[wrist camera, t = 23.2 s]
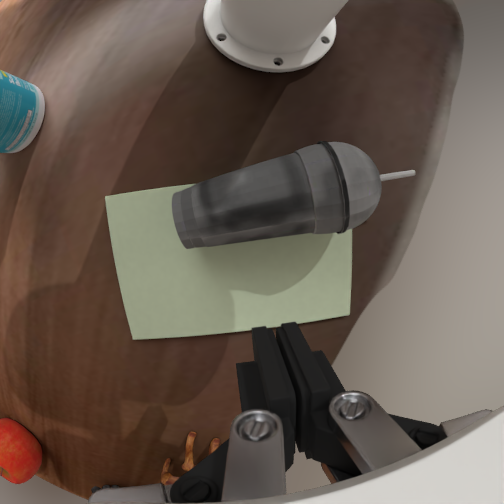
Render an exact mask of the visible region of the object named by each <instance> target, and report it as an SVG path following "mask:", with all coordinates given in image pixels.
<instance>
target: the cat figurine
mask: <svg viewBox="0 0 504 504" xmlns="http://www.w3.org/2000/svg"><path fill="white" fill-rule="evenodd" d="M196 435H197V434H196V433H195V432H190V433H189V434H188V437H187V441H186V447H185V462H184V464H183V465H182V468H183V469H184V470H187V471H189V470H191V469H192V468H193V467H194V466H196V465H193V443H194V439H195V436H196ZM219 442H220V439H218V438H214V439H213V440H212V441H211V444H210V447H209V455H210V454H211V453H212V452H213V451H215V450H216V449H217V448H218V445H219ZM170 461H171V459H170V458H168V459H166V461H165V464H164V467H163V470H162V473H161V482H162V484H164V485H171V484H173V483H174V482H175V481H176V480H177V479H178V478H180V477H174V476H172V475H171V474H170V473H169V472H168V469H169V463H170Z"/></svg>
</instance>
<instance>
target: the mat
mask: <svg viewBox="0 0 504 504" xmlns="http://www.w3.org/2000/svg"><path fill="white" fill-rule="evenodd" d="M193 185H194V184H189V185H181V186H172V187H165V188H157V189H150V190H143V191H136V192H130V193H123V194H117V195H111V196H106V197H105V200H106V209H107V216H108V224H109V230H110V237H111V243H112V249H113V255H114V260H115V265H116V270H117V275H118V280H119V285H120V290H121V294H122V298H123V303H124V307H125V311H126V315H127V319H128V323H129V326H130V330H131V334H132V337H133V340H136V339H156V338H172V337H186V336H198V335H210V334H220V333H230V332H239V331H247V330H252V328H253V327H261V326H266V327H267V328H271V327H278V326H281V324H282V323H289V322H296V323H297V324H299V323H305V322H312V321H318V320H324V319H329V318H335V317H341V316H346V315H350V299H351V274H352V229H349V230H346V232H344V233H342V234H337V233H336V232H335V233H330V234H312V233H307V234H300V235H292V236H285V237H277V238H270V239H263V240H256V241H248V242H241V243H234V244H227V245H220V246H213V247H199V248H191V249H186V248H185V247H184V246H183V244H182V242H181V241H180V238H179V236H178V234H177V231H176V227H175V224H174V219H173V214H172V196H173V194H174V193H175V192H179V191H182V190H184V189H186V188H189V187H191V186H193Z"/></svg>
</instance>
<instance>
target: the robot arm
mask: <svg viewBox="0 0 504 504" xmlns="http://www.w3.org/2000/svg"><path fill="white" fill-rule="evenodd" d="M347 1H348V0H207V1H206V4H205V6H204V13H203V21H204V27H205V30H206V34H207V36H208V37H209V39H210V41H211V42H212V44H213V45H214V46H215V47H216V48H217V49H218V50H219V51H220V52H221V53H222V54H224V55H225V56H226V57H228V58H229V59H231V60H233V61H234V62H236V63H238V64H240V65H243V66H246V67H249V68H251V69H255V70H260V71H265V72H280V73H281V72H290V71H296V70H299V69H303V68H306V67H308V66H310V65H312V64H314V63H316V62H317V61H318V60H319V59H321V58H322V57H323V56H324V55H325V54H326V53H327V52H328V51H329V49H330V48H331V46H332V45H333V42H334V39H335V36H336V22H335V18H334V17H335V16H336V14H337V13H338V12H339V11H340V10H341V8H342V7H343V6H344V5H345V4H346V2H347ZM219 40H224V41H219ZM274 63H278V64H279V66H278V65H275V64H274ZM252 340H253V350H254V360H255V361H252V362H244V363H236V368H237V376H238V384H239V392H240V400H241V408H242V413H241V414H239V415H238V416H236V418H235V419H234V420H233V421H232V424H231V428H230V436H229V439H228V440H227V441H225V442H224V443H223V444H222V445H221V446H219V447H218V448H217V449H216V450H215V451H213V452H212V453H211V454H210V455H208V456H207V457H206V458H205V459H203V460H202V461H201V462H200V463H198V464H197V465H196V466H194V467H193V468H192V469H191V470H189V471H188V472H187V473H185V474H184V475H183V476H181V477H180V478H178V479H177V480H176V481H175V482H174V483H173V484H171V485H165V486H163V484H162V483H159V484H151V485H143V486H134V487H122V488H105V489H100V490H97V491H96V492H94V493H93V494H92V495H91V496H90V498H89V501H88V504H504V406H502V407H500V408H498V409H496V410H494V411H492V410H487V409H486V410H481V411H478V412H475V413H472V414H469V415H465V416H463V417H459V418H456V419H452V420H449V421H445V422H441V424H440V426H437V425H434V424H431V423H427V422H422V421H417V420H413V419H408V418H404V417H399V416H395V415H391V414H387V413H386V412H385V410H384V409H383V408H382V407H381V406H380V405H379V404H378V403H377V402H376V401H375V400H374V399H373V398H372V397H371V396H370V395H368V394H366V393H363V392H360V391H345V389H344V387H343V386H342V384H341V382H340V380H339V379H338V377H337V375H336V373H335V372H334V370H333V368H332V367H331V365H330V363H329V361H328V360H327V358H326V356H325V354H324V353H323V352H322V351H321V350H320V351H315V352H312V351H311V349H310V348H309V346H308V344H307V342H306V340H305V338H304V336H303V334H302V332H301V330H300V328H299V327H298V325H297V323H296V322H289V323H282V324H281V328H276V338H275V335H274V332H273V330H272V329H267V327H266V326H261V327H253V328H252ZM295 441H296V444H297V448H298V451H299V452H305V455H306V458H307V459H310V458H312V459H313V460H316V461H319V462H321V466H322V469H323V471H324V472H325V474H326V476H327V477H328V479H329V480H330V482H331V484H330V485H326V486H322V487H318V488H314V489H309V490H305V491H300V492H295V493H290V494H286V478H285V472H286V471H287V470H288V469H289V468H290V467H291V465H292V464H293V460H294V453H295Z"/></svg>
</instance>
